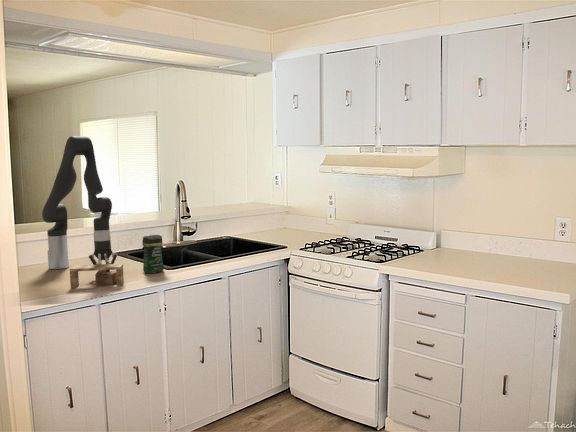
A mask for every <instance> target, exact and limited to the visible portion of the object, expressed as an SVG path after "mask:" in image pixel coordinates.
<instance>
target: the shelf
mask: <svg viewBox="0 0 576 432" xmlns="http://www.w3.org/2000/svg"><path fill="white" fill-rule="evenodd" d="M98 270H110V271H116V276H117V282H116V286H117V287H118V286H119V287H121V286H122V285H123V284H124V283H125V280H124V277H125V276H124V264H123V263H114V264H106V263H104V264H100V265H93V264H83V265H79V264H78V265H72V266H71V267H70V268H69V280H70V281H69V282H70V283H69V284H70V288H71V289H76V288H77V287H78V286H79V284H80V279H79V272H91V271H92V272H93V271H95V272H96V271H98Z"/></svg>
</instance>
